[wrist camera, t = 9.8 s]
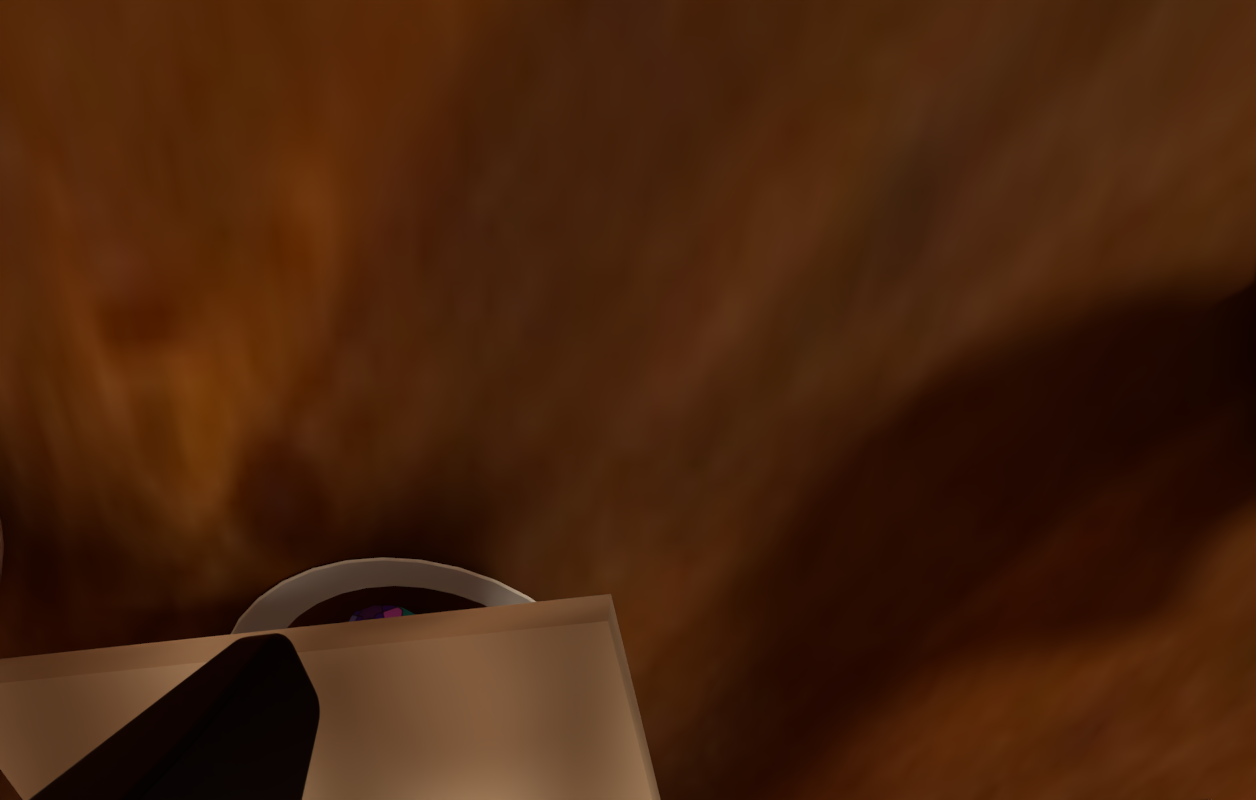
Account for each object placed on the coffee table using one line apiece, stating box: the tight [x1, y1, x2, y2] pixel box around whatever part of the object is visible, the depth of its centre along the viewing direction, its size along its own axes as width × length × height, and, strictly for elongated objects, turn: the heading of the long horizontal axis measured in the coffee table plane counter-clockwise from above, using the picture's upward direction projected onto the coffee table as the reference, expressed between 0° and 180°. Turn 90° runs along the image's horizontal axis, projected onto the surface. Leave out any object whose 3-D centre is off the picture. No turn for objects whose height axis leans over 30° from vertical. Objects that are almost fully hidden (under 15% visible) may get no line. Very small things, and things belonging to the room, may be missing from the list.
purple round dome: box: [231, 557, 536, 634], centre depth 25 cm, size 12×12×5 cm
